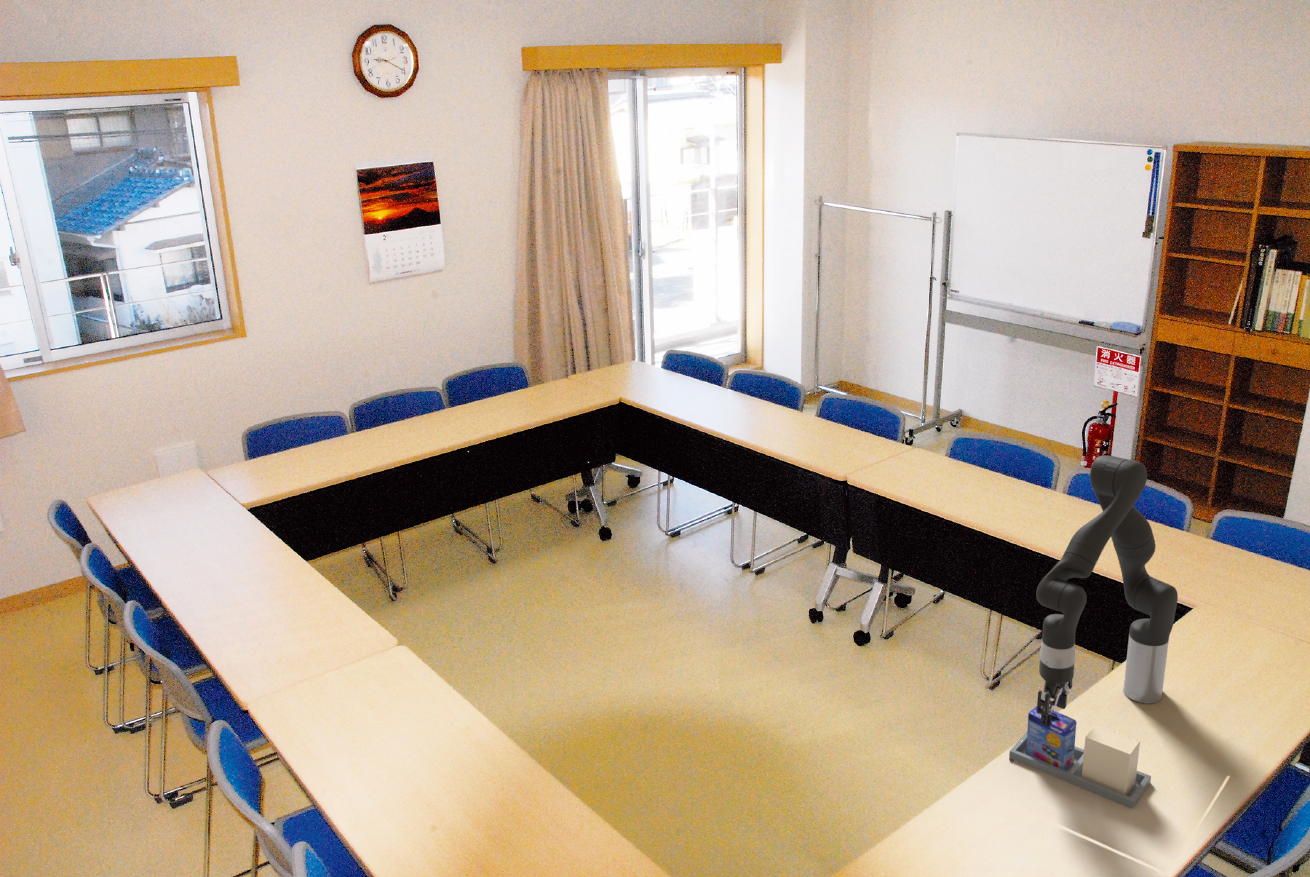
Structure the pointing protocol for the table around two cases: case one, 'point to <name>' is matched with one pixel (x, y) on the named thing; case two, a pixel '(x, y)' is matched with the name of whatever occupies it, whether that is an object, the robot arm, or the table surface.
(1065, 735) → the ink cartridge box
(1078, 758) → the tray
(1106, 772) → the beige box
